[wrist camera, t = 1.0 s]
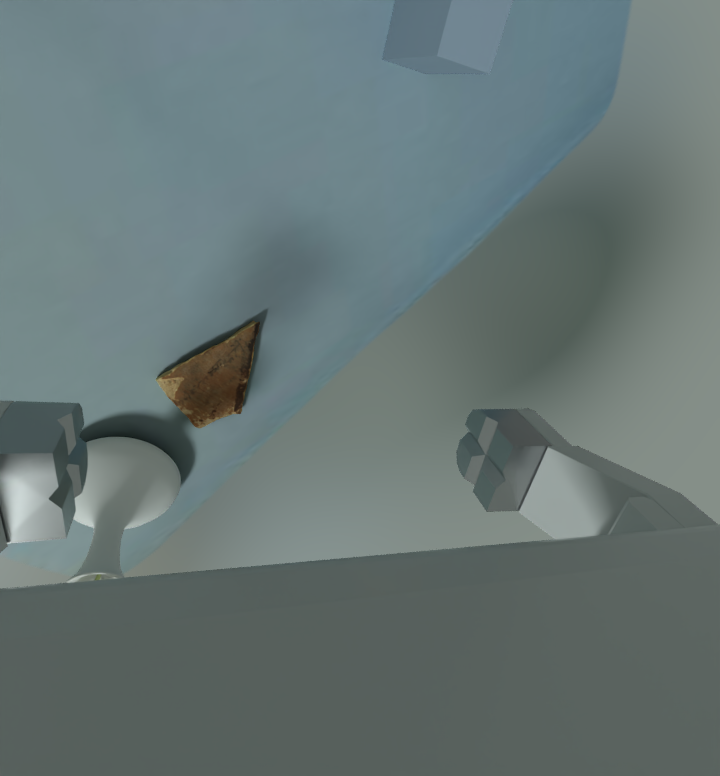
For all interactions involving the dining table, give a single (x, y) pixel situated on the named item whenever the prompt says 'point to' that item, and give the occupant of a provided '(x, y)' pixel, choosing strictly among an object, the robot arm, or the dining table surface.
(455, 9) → the blue-grey rectangular block
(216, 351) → the shard
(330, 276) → the dining table surface
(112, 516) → the flower in vase
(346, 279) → the dining table surface
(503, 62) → the dining table surface
